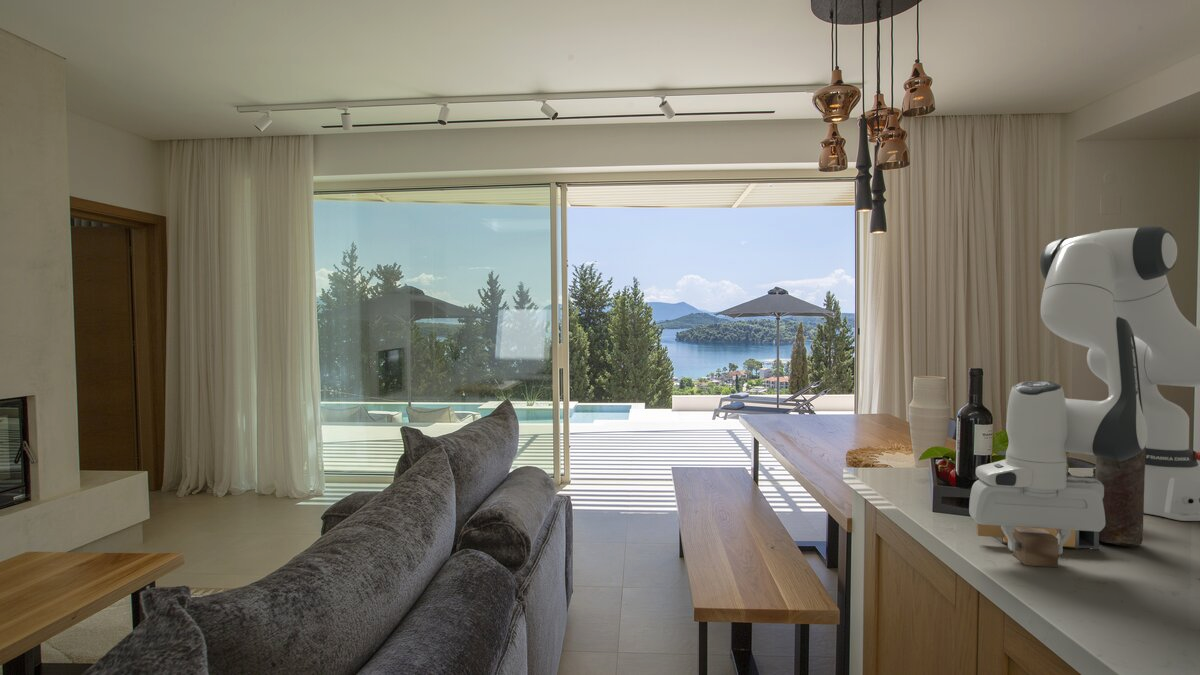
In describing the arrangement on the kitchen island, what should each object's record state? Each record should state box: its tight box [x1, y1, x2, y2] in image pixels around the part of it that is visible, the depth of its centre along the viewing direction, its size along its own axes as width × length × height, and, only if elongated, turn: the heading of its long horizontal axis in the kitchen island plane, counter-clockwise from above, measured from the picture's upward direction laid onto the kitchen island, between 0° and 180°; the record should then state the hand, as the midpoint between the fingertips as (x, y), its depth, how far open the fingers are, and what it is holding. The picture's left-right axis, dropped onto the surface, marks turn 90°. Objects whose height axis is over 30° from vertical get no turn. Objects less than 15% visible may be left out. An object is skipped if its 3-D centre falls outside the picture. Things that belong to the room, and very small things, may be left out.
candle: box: [1095, 445, 1146, 548], centre depth 118 cm, size 8×7×20 cm
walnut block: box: [1012, 527, 1059, 568], centre depth 110 cm, size 5×5×5 cm
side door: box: [976, 522, 1079, 549], centre depth 117 cm, size 17×1×5 cm, turn 77°
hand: (1034, 551), depth 110 cm, fingers closed on walnut block, 5 cm apart
